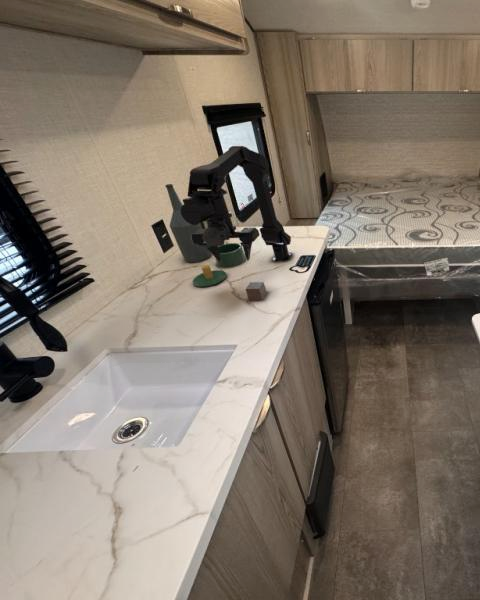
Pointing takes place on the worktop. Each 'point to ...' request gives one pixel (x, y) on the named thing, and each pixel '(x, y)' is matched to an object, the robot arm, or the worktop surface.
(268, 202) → the robot arm
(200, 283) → the lid
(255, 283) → the block
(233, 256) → the tin
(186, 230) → the bottle
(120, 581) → the worktop surface
